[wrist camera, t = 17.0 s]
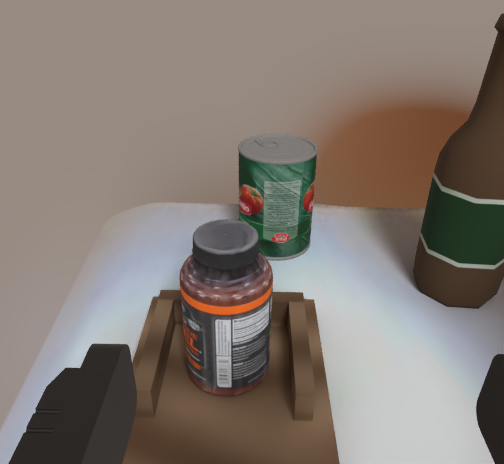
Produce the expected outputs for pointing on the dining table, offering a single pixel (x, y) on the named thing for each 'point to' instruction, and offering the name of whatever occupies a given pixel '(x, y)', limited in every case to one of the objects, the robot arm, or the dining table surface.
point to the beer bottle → (468, 202)
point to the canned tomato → (278, 192)
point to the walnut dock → (232, 407)
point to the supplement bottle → (226, 308)
